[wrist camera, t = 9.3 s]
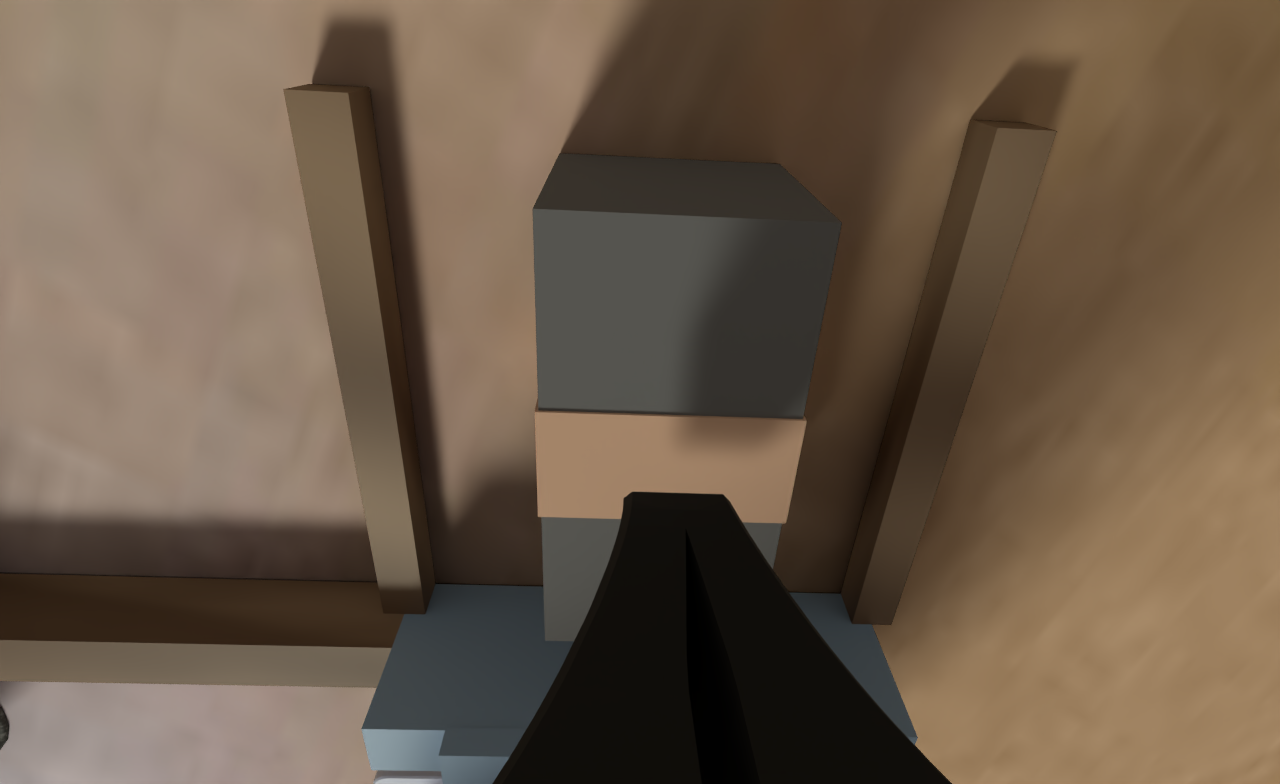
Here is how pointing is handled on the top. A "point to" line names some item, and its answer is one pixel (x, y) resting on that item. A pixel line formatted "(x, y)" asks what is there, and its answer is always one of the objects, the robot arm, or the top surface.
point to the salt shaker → (3, 729)
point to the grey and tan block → (669, 349)
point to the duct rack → (396, 515)
